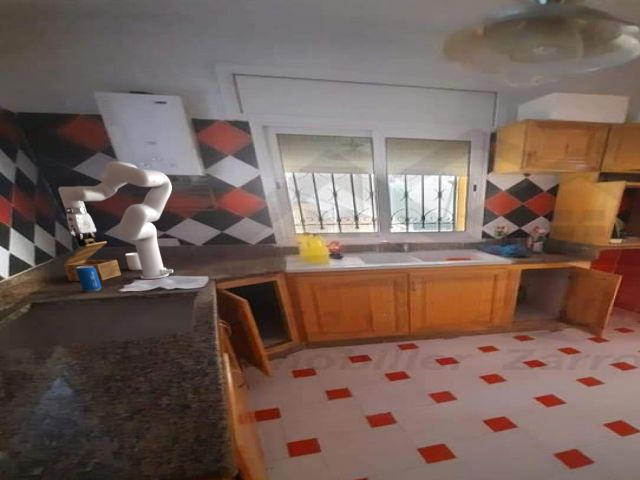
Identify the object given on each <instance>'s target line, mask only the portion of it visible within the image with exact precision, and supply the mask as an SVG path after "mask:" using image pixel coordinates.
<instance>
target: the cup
mask: <svg viewBox="0 0 640 480" xmlns="http://www.w3.org/2000/svg"><path fill="white" fill-rule="evenodd" d="M124 255H125V258H126V263H127V266H128V270H130V271H142V267H141V264H140V260H139V257H138V253H137V252H129V253H125V254H124Z"/></svg>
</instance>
